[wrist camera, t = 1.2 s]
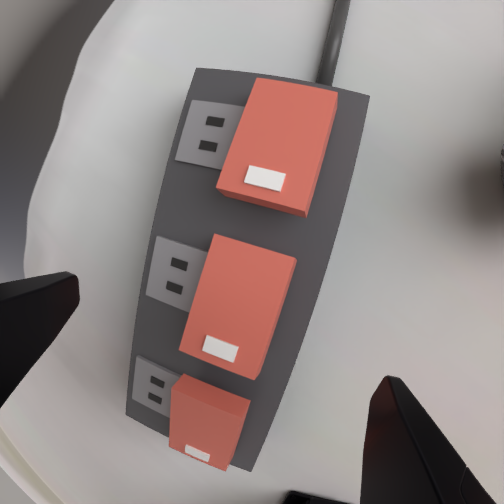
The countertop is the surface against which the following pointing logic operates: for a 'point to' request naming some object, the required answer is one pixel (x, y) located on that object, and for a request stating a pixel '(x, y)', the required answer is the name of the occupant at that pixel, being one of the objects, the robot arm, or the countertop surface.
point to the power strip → (239, 228)
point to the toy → (502, 164)
